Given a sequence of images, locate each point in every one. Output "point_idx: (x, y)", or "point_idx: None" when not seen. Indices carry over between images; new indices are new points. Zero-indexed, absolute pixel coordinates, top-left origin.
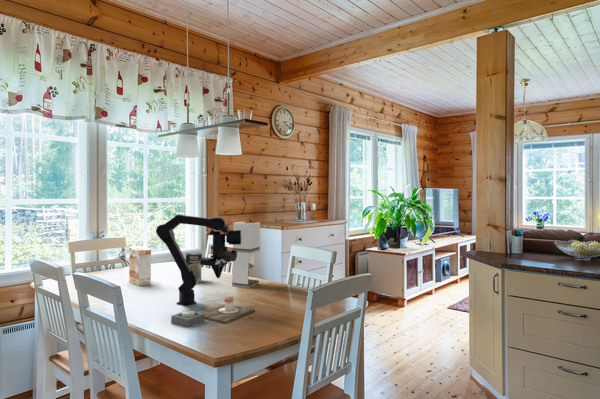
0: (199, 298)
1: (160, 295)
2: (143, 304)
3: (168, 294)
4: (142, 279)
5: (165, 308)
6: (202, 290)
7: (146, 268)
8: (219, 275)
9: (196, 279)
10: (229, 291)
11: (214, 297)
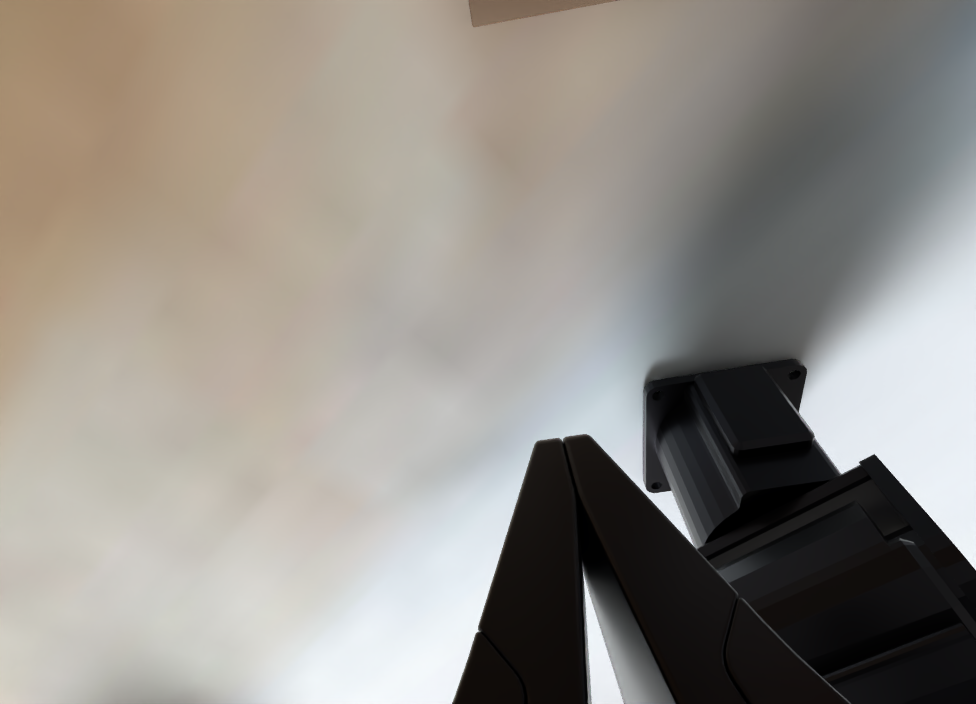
0: (499, 477)
1: None
2: None
3: None
4: None
5: (949, 418)
6: (307, 625)
7: None
8: (580, 484)
9: (859, 620)
10: (74, 492)
11: (355, 421)
